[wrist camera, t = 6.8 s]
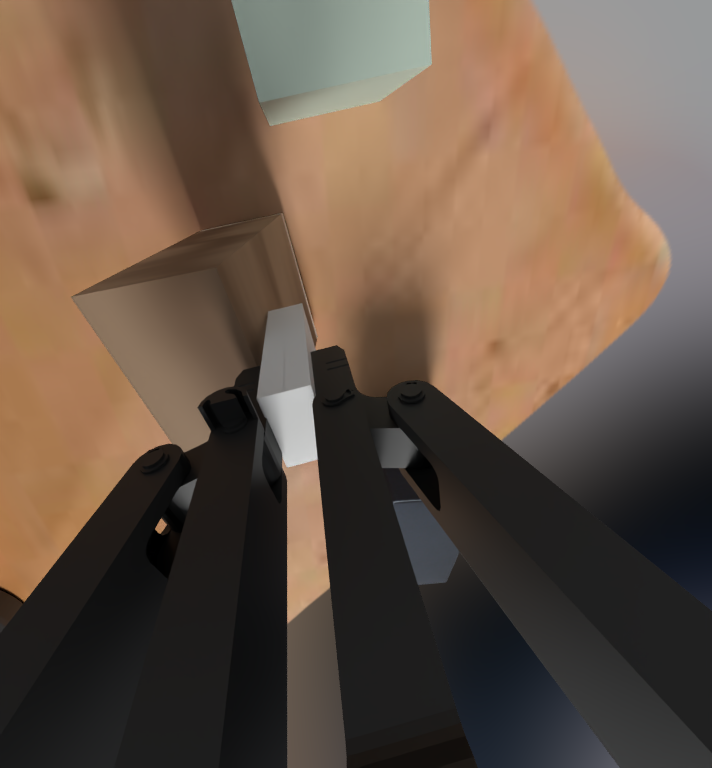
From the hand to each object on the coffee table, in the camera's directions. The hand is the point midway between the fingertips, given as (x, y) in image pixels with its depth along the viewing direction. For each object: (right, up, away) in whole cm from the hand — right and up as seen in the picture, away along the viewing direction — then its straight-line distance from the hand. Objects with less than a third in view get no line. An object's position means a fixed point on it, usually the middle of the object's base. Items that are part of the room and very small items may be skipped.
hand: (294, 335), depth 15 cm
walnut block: (-3, +4, +7) cm, 8 cm away
